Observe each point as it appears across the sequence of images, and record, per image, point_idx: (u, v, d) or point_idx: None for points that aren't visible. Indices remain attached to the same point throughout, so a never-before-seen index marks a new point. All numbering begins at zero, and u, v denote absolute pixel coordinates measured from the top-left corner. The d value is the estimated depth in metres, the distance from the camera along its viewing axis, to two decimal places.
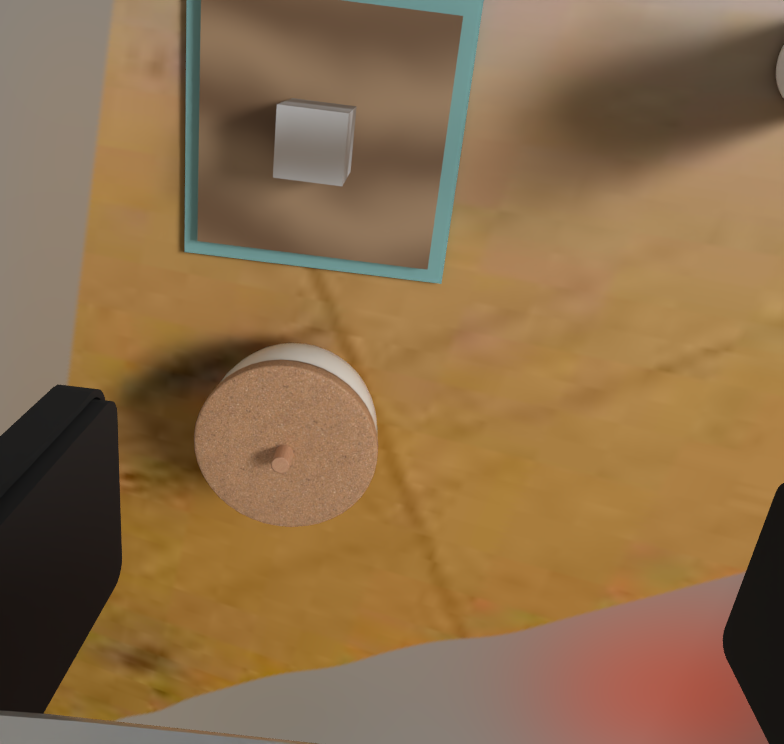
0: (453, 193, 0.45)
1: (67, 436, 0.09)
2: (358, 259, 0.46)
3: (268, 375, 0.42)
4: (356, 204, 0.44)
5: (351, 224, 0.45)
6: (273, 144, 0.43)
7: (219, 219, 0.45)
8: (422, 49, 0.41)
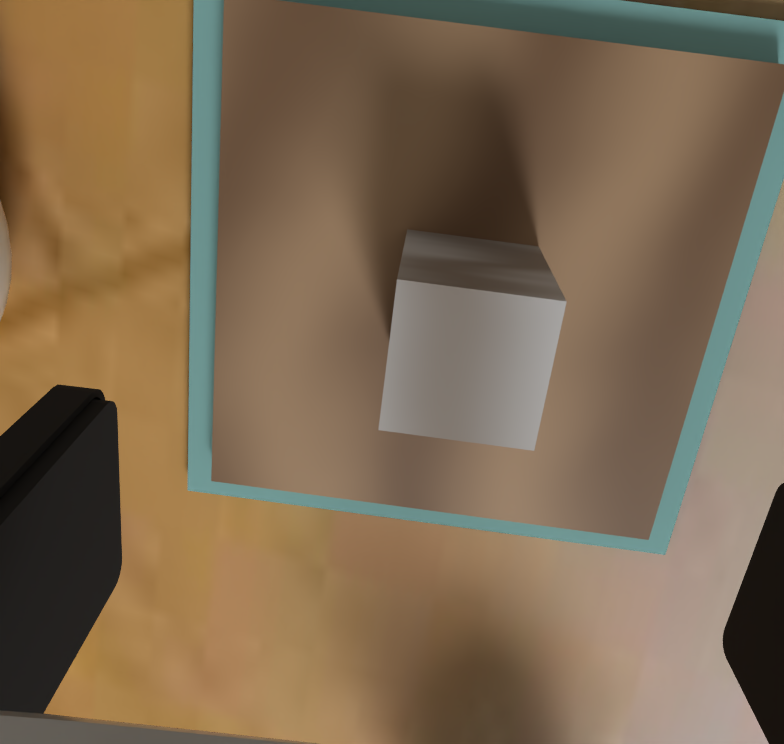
0: (353, 510, 0.25)
1: (67, 436, 0.09)
2: (217, 360, 0.22)
3: None
4: (328, 360, 0.22)
5: (287, 349, 0.22)
6: (447, 200, 0.20)
7: (280, 57, 0.19)
8: (603, 479, 0.23)
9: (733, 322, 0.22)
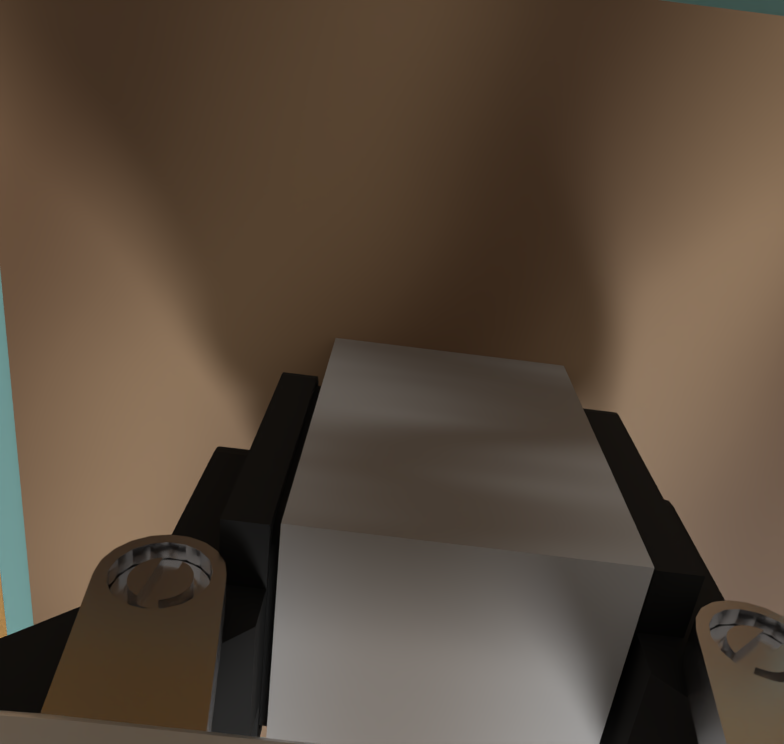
0: None
1: (312, 416, 0.10)
2: (30, 541, 0.14)
3: None
4: None
5: (145, 525, 0.13)
6: (404, 289, 0.11)
7: (86, 36, 0.10)
8: None
9: None
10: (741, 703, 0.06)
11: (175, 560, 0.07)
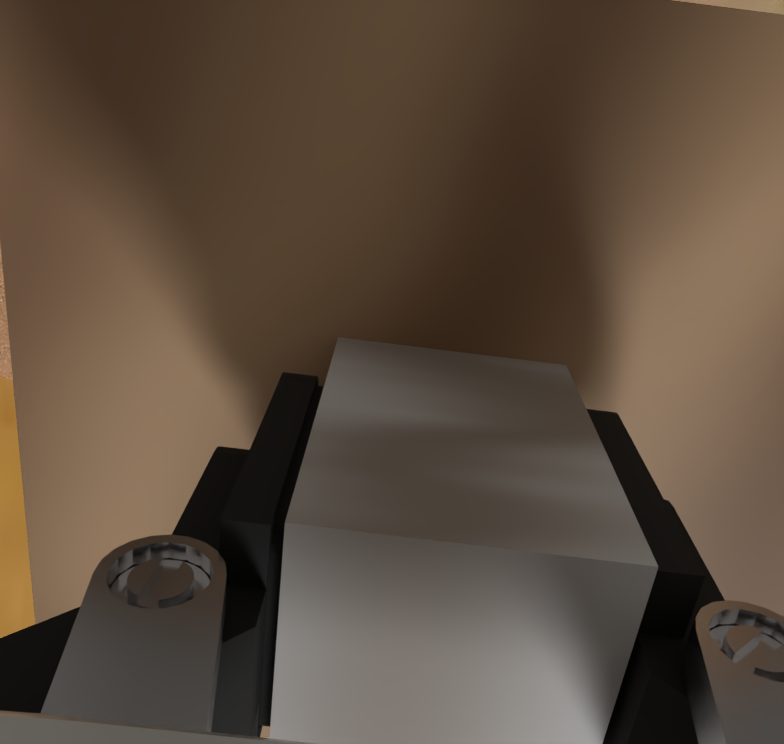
0: None
1: (312, 416, 0.10)
2: (33, 540, 0.14)
3: None
4: None
5: (147, 524, 0.13)
6: (407, 288, 0.11)
7: (89, 35, 0.10)
8: None
9: None
10: (741, 703, 0.06)
11: (175, 560, 0.07)
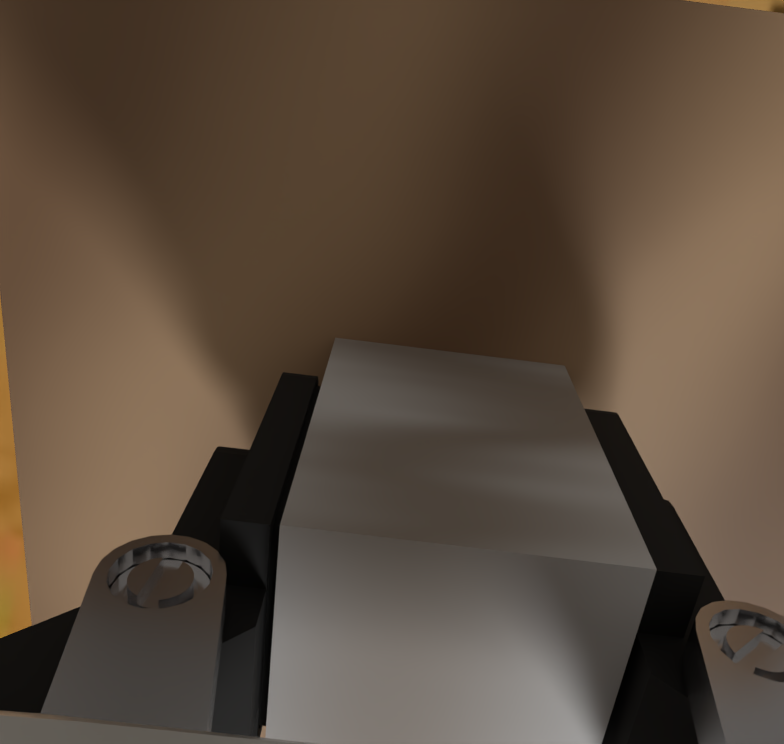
0: None
1: None
2: (29, 542, 0.13)
3: None
4: None
5: (144, 525, 0.13)
6: (404, 288, 0.11)
7: (84, 34, 0.10)
8: None
9: None
10: (741, 703, 0.06)
11: (175, 560, 0.07)
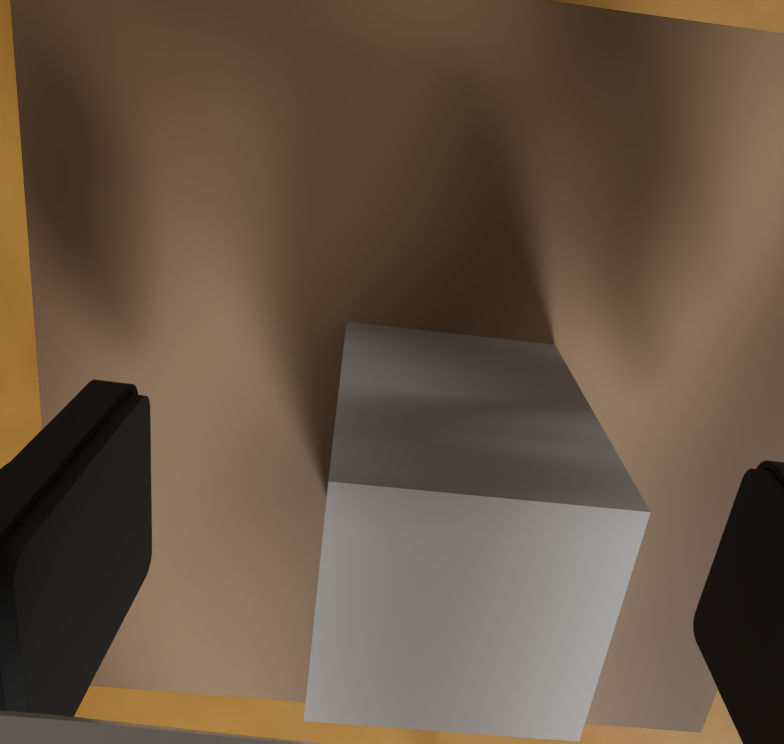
0: None
1: (106, 429, 0.09)
2: None
3: None
4: (229, 514, 0.14)
5: (164, 501, 0.14)
6: (410, 276, 0.12)
7: (116, 42, 0.11)
8: (640, 659, 0.16)
9: None
10: None
11: None
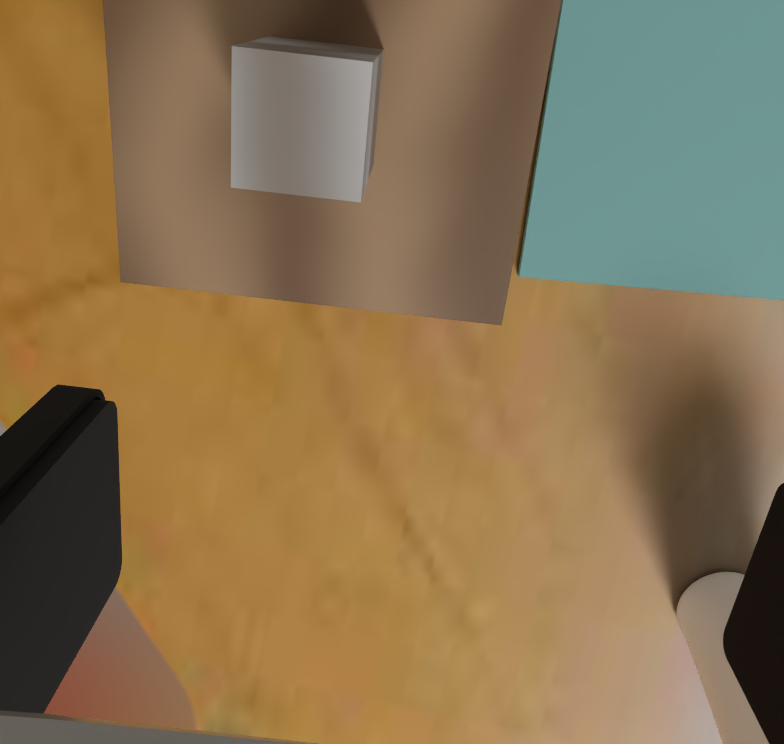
0: (632, 285, 0.37)
1: (67, 436, 0.09)
2: (116, 166, 0.26)
3: None
4: (212, 163, 0.25)
5: (176, 153, 0.25)
6: (301, 7, 0.23)
7: None
8: (457, 268, 0.27)
9: None
10: None
11: None
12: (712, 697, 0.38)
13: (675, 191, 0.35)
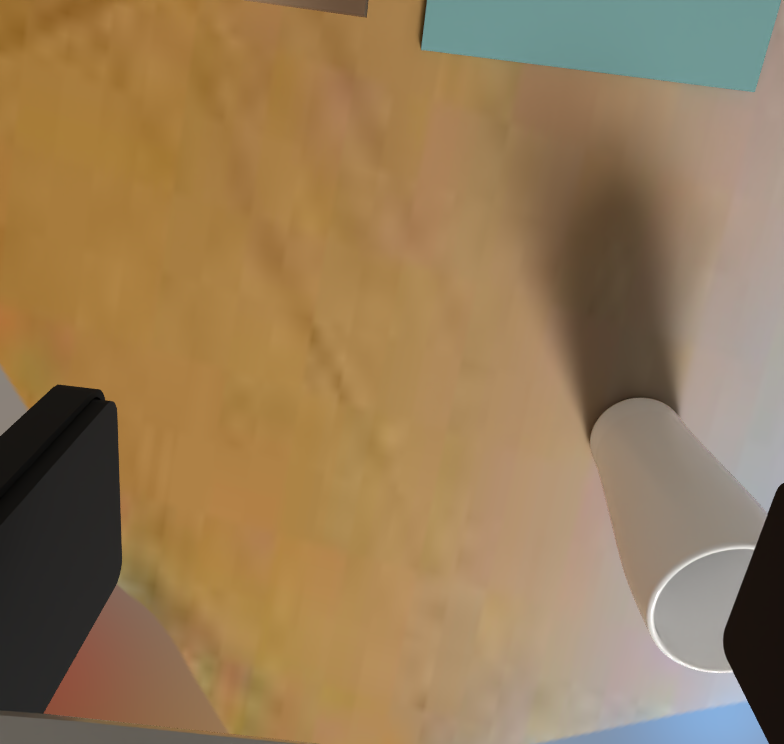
0: (537, 62, 0.36)
1: (67, 436, 0.09)
2: None
3: None
4: None
5: None
6: None
7: None
8: None
9: None
10: None
11: None
12: (609, 500, 0.37)
13: None
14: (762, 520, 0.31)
